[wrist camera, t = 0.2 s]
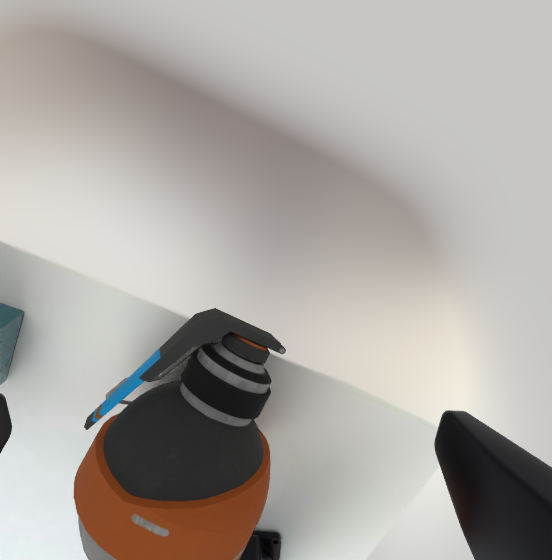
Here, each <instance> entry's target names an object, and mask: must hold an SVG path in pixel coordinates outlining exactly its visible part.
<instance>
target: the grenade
mask: <svg viewBox="0 0 552 560" xmlns="http://www.w3.org/2000/svg"><path fill="white" fill-rule="evenodd" d="M222 337H223V338H222ZM220 338H222V342H221V343H210V342H214V341H218V340H219V339H220ZM206 343H208V344H206ZM194 346H195V347H194ZM201 346H202V347H201ZM192 347H194V348H193V349H192V350H191V351H189V350H190V349H191V348H192ZM200 347H201V348H200ZM199 348H200V350H197V349H199ZM268 348H269V349H271V350H274V351H276V352H278V353H280V354H284V353H285V351H286V349H285V348H284V347H283V346H282V345H281V343H280V342H279V341H277V340H276V339H275V338H274V337H273V336H272V335H271V334H270V333H268V332H266V331H263V330H261V329H259V328H257V327H255V326H252V325H250V324H248V323H246V322H244V321H242V320H240V319H238V318H235V317H233V316H231V315H229V314H227V313H224V312H222V311H220V310H218V309H216V308H214V309H211V310H207V311H204V312H200V313H197V314H195V315H194V316H193V317H192V318H191V319H190V320H189V321H188V322H187V323H186V324H185V325H184V326H183V327H181V328H180V329H179V330H178V331H177V332H176V333H175V334H174V335H173V336H172V337H171V338H170V339H169V340H168V341H167V342H166V343H165V344H164V345H163V346H162V347H161V348H160V349H158V350H157V351H156V352H155V353H154V354H153V355H152V356H151V357H150V358H149V359H148V360H147V361H146V362H145V363H144V364H143V365H142V366H141V367H140V368H139V369H138V370H137V371H136V372H134V373H133V374H132V375H131V376H130V377H129V378H126V379H124V380H123V381H122V382H120V383H119V384H118V385H117V386H116V387H114V388H113V389H112V390H111V391H110V392H108V393H107V394H106V400H105V401H104V402H103V403H102V404H101V405H100V406H99V407H98V408H97V409H96V410H95V411H94V412H93V413H92V414H91V415H90V416H89V417H87V420H86V423H85V426H84V428H85V429H86V430H88V429H89V428H90V427H91V426H92V425H94V424H95V423H96V422H97V421H98V420H99V419H101V418H102V417H103V416H104V415H105V414H106V413H108V412H109V411H110V410H111V409H112V408H113V407H115V406H116V405H117V404H118V403H121V404H128V406H127V407H126V408H125V409H124V410H123V411H122V412H121V413H119V414H117V415H115V416H112V417H111V418H110V419H109V420H107V421H106V422H105V423H104V424H103V426H102V427H101V429H100V431H99V432H98V434H97V436H96V437H95V439H94V441H93V443H92V445H91V447H90V448H89V450H88V452H87V454H86V456H85V457H84V459H83V461H82V463H81V465H80V466H79V468H78V471H77V473H76V477H75V481H74V500H75V505H76V509H77V514H78V516H79V522H78V523H79V529H80V536H81V540H82V544H83V549H84V551H85V553H86V555H87V557H88V559H89V560H239V559H240V557H241V555H242V553H243V551H244V549H245V547H246V545H247V543H248V541H249V539H250V537H251V535H252V533H253V531H254V529H255V527H256V525H257V523H258V521H259V519H260V517H261V514H262V511H263V508H264V505H265V502H266V499H267V494H268V489H269V481H270V451H269V445H268V443H267V440H266V438H265V437H264V435H263V433H262V432H261V431H260V430H259V429H258V427H257V425H256V423H255V421H254V420H253V419H255V418H257V417H258V416H259V415H260V413H261V411H262V409H263V407H264V405H265V403H266V401H267V399H268V397H269V395H270V394H271V391H270V388H269V386H270V384H271V378H270V376H269V374H268V372H267V370H266V369H265V368H264V366H263V363H265V362H266V360H267V358H268V356H269V354H270V352H269V350H268ZM196 350H197V351H196ZM187 351H189V352H188V353H187V354H186V355H184V354H185V353H186V352H187ZM192 353H193V354H192ZM191 354H192V356H191V358H190V360H189V361H188V363H187V365H186V367H185V369H184V371H183V373H182V375H181V379H182V381H180V382H172V383H167V384H164V385H161V386H158V387H155V388H153V389H151V390H149V391H147V392H145V393H144V394H142V395H141V396H139V397H138V398H136V399H135V400H134V401H125V400H123V399H124V398H125V397H126V396H127V395H129V394H130V393H131V392H132V391H133V390H134V389H135V388H137V387H138V386H139V385H140V384H141V383H142V382H144V381H147V382H152V381H155V380H159V379H161V378H163V377H164V376H165V375H166V374H168V373H169V372H170V371H171V370H173V369H174V368H175V367H176V366H177V365H179V364H180V363H181V362H182V361H184V360H185V359H186V358H187V357H189V356H190V355H191ZM182 355H184V356H183V357H182V358H181V359H179V358H180V357H181V356H182ZM177 359H179V360H178V361H177V362H176V363H174V362H175V361H176V360H177ZM173 363H174V364H173ZM171 364H173V365H172V366H171V367H170V368H168V367H169V366H170V365H171ZM166 368H168V369H167V370H166V371H165V372H163V371H164V370H165V369H166ZM161 372H163V373H162V374H161V375H160V376H158V375H159V374H160V373H161Z"/></svg>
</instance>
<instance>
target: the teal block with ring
mask: <svg viewBox="0 0 552 560" xmlns="http://www.w3.org/2000/svg"><path fill="white" fill-rule="evenodd" d="M23 315H24V312H22V311H20V310H17V309H14V308H12V307H9V306H6V305H4V304H1V303H0V385H1V384H2V383H3V382H4V381H5V380H6V379H7V375H8V371H9V367H10V364H11V360H12V356H13V352H14V348H15V345H16V341H17V337H18V333H19V330H20V326H21V322H22V318H23Z"/></svg>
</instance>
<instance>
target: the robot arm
mask: <svg viewBox="0 0 552 560" xmlns="http://www.w3.org/2000/svg"><path fill="white" fill-rule="evenodd" d="M11 430H12V423H11V419H10V415H9V411H8V407H7V402H6V399H5V397H4V395H3V394H1V393H0V453H1V451H2V449H3V448H4V446H5V444H6V442H7V441H8V439H9V437H10V434H11ZM435 452H436V455H437V458H438V461H439V464H440V467H441V470H442V473H443V476H444V479H445V482H446V485H447V488H448V491H449V494H450V497H451V500H452V502H453V505H454V508H455V512H456V515H457V517H458V520H459V523H460V526H461V528H462V530H463V533H464V536H465V538H466V540H467V543H468V545H469V547H470V550H471V552H472V554H473V557H474V559H475V560H552V467H550V466H549V465H547V464H546V463H544V462H542V461H541V460H540V459H538V458H536V457H535V456H533V455H532V454H530V453H529V452H527V451H526V450H524V449H523V448H521V447H519V446H518V445H516V444H515V443H513V442H512V441H510V440H509V439H507V438H506V437H504V436H502V435H501V434H499V433H498V432H496V431H495V430H493V429H492V428H490V427H489V426H487V425H485V424H484V423H482V422H481V421H479V420H478V419H476V418H475V417H473V416H471V415H470V414H468V413H467V412H464V411H445V412H444V413H443V414H442V417H441V420H440V424H439V427H438V431H437V434H436V438H435ZM280 547H281V536H280V534H278V533H252V535H251V537H250V539H249V541H248V543H247V545H246V547H245V549H244V551H243V553H242V555H241V557H240V559H239V560H279V557H280Z"/></svg>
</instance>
